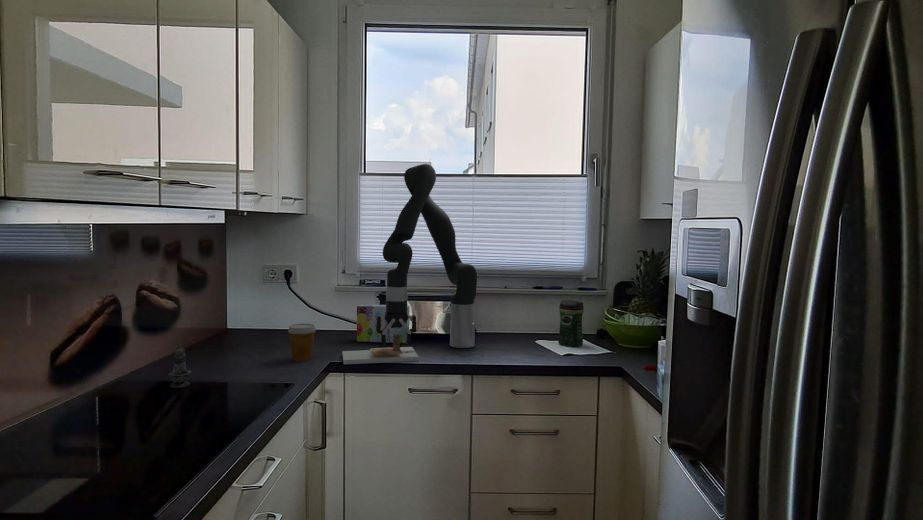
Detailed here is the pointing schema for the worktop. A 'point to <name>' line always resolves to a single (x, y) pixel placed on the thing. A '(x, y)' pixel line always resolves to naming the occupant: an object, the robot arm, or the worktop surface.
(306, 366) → the worktop surface
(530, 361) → the worktop surface
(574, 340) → the coffee jar
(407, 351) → the board
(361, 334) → the snack box
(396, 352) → the stub
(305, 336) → the disposable coffee cup
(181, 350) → the dark grey tiered piece
